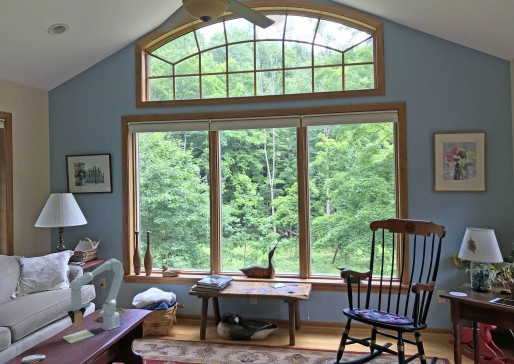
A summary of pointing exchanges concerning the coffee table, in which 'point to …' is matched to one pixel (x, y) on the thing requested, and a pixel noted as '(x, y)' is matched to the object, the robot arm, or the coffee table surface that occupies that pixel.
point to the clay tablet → (119, 310)
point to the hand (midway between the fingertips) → (76, 321)
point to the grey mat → (78, 336)
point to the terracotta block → (77, 319)
